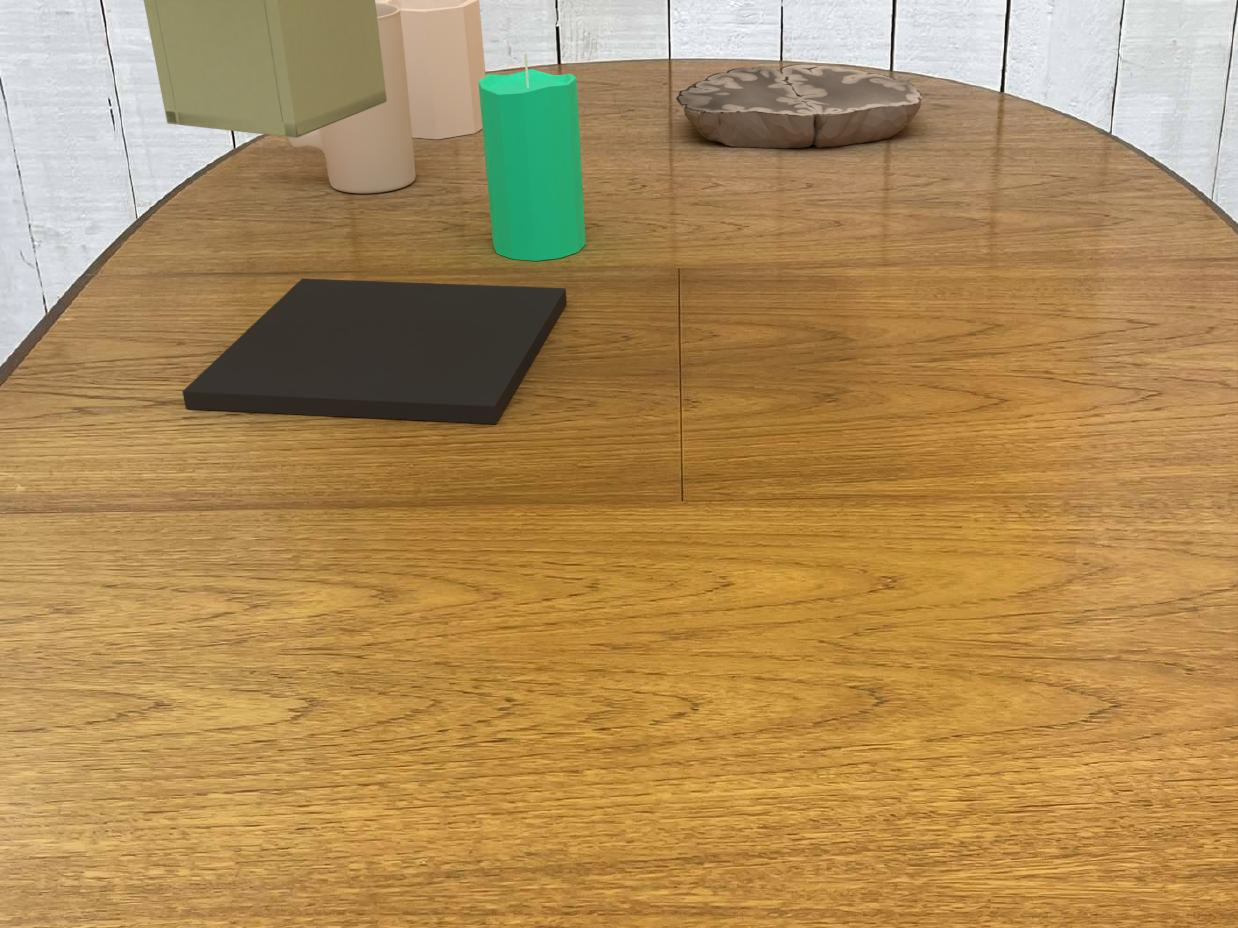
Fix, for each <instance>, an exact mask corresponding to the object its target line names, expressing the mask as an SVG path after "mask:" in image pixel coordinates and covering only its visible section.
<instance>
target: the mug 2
mask: <svg viewBox="0 0 1238 928" xmlns="http://www.w3.org/2000/svg"><path fill="white" fill-rule="evenodd" d="M375 2H376V3H387V4H392V5H396V6H398V7H400V8H401V11H400V17H401V25H402V34H403V44H404V54H405V65H406V76H407V87H408V98H409V108H410V119H411V129H412V139H426V140H443V139H450V138H454V137H455V138H456V137H461V136H468V135H474V134H476V133H478V132H479V131H481V130H483V129H482V118H481V107H480V96H479V84H478V82H479V81H480V80H481V79H482V78H484V77H485V76H486V75H487V74H486V63H485V53H484V42H483V41H484V40H483V32H482V31H483V29H482V19H481V18H482V17H481V7H480V0H377V1H375Z"/></svg>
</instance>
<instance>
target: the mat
mask: <svg viewBox="0 0 1238 928" xmlns="http://www.w3.org/2000/svg"><path fill="white" fill-rule="evenodd" d="M566 306H567V291H566V288H564V287H544V286H543V287H542V286H541V287H540V286H519V285H518V286H516V285H515V286H513V285H487V284H459V283H433V282H411V281H410V282H409V281H408V282H405V281H382V280H381V281H379V280H378V281H377V280H357V279H355V280H354V279H351V280H350V279H327V278H325V279H324V278H301V279H300V280H299V281H297V283H295V284H294V285H293V287H291V288H290V289H289V290H288V291H287V292H286V293H285V294H284V295H283V296H281V298H280V299H279V300H278V301H277V302H276V303H275V304H273V305H272V306H271V307H270V308H269V309H268V310H267V311H266V312H265V313H264V314H262V315H261V316H260V318H258V319H257V320H256V321H255V322H254V323H253V324H252V325H251V326H250V327H249V328H248V329H246V331H244V332H243V334H242V335H240V336H239V337H238V338H237V339H236V340H235V341H234V342H233V343H232V344H231V345H230V346H229V347H228V348H227V349H226V350H224V351H223V352H222V353H221V354H220V355H219V356H217V358H216V359H215V360H214V361H212V363H211V364H210V365H208V367H206V368H205V369H204V370H203V371H202V372H201V373H200V374H199V375H198V376H197V377H196V378H195V379H194V380H193V381H191V383H189V385H187V386H186V387H185V388H184V389H183V390H182V396H183V401H184V405H185V409H186V410H199V411H221V412H240V413H241V412H243V413H261V414H280V415H281V414H282V415H302V416H322V417H341V418H342V417H346V418H362V419H363V418H364V419H382V420H383V419H384V420H402V421H403V420H405V421H406V420H407V421H424V422H426V421H427V422H443V423H445V422H447V423H464V424H466V423H467V424H483V425H488V424H489V425H497V424H498V423H499V420H500V419H501V417H502V415H503V414H504V412H505V410H506V409H507V407H508V405H509V403H510V402H511V400H512V398H513V397H514V395H515V393H516V392H517V389H518V388H519V386H520V384H521V383H522V381H523V380H524V377H525V376H526V374H527V373H528V371H529V369H530V368H531V366H532V364H533V363H534V360H535V359H536V357H537V356H538V354H539V352H540V350H541V349H542V347H543V346H544V343H545V342H546V340H547V338H548V336H549V335H550V333H551V331H552V330H553V328H554V327H555V325H556V323H557V321H558V320H559V317H560V316H561V315H562V313H563V311H564V309H565V307H566Z"/></svg>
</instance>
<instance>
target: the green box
mask: <svg viewBox="0 0 1238 928" xmlns="http://www.w3.org/2000/svg"><path fill="white" fill-rule="evenodd" d="M375 2H376V0H143V4H144V9H145V15H146V19H147V25H148V30H149V36H150V41H151V45H152V52H153V56H154V61H155V66H156V72H157V77H158V82H159V87H160V93H161V98H162V104H163V108H164V114H165V120H166V123H167V124H168V125H175V126H176V125H177V126H186V127H194V128H195V127H196V128H204V129H214V130H222V131H231V132H240V133H249V134H258V135H267V136H276V137H285V138H286V137H295V138H297V137H300V136H302V135H305V134H307V133H310V132H312V131H315V130H317V129H320V128H322V127H325V126H327V125H330V124H332V123H335V122H337V121H340V120H342V119H345V118H347V117H350V116H352V115H355V114H357V113H360V112H362V111H365V110H367V109H370V108H372V107H375V106H377V105H380V104H382V103H385V102H386V101H387V99H386V90H385V82H384V73H383V64H382V56H381V47H380V38H379V30H378V21H377V12H376V4H375Z"/></svg>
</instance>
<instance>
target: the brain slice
mask: <svg viewBox="0 0 1238 928" xmlns="http://www.w3.org/2000/svg"><path fill="white" fill-rule="evenodd" d="M922 99H923V95H922V93H921V92H920V91H919V90H918V88H917V87H916V86H915V85H914V84H913V83H912V82H910V81H909V80H908V79H904V78H894V77H891V76H888V75H884V74H882V73H874V72H867V71H866V70H861V69H856V68H855V69H854V68H846V67H841V66H834V65H817V64H803V63H801V64H790V65H785V66H782V67H781V68H779V69H777V68H772V67H765V66H756V67H739V68H738V67H737V68H733V69H729V70H727V71H725V72H716V73H712V74H709V75H708V76H705V77H704V80H703V79H702V80H699V81H695V82H694V83H692V84H691V85H690V86H688V87H686V88H685V89H681V90H680V91H678V95H677V96H676V97H675V100H676V101H677V102H678V104H679V105H680V106H681V107H683V113H684V115H685V117H686V119H687V120H688V121H690V122H691V123H692V124H693V125H694V126H695V127H696V130H697V132H698V133H699V134H700V135H701V136H702V137H703V138H704V139H706V140H707V141H709V142H715V143H719V144H723V145H725V146H727V147H735V148H738V147H739V148H767V149H801V148H809V147H811V146H815V148H820V149H821V148H836V147H838V148H839V147H842V146H847V145H854V144H856V145H857V144H865V143H869V142H878V141H883V140H888V139H891V137H894V136H895V135H896V134H897V133H899V132H900V131H902V130H904V128H905V127H906V125H908V124H910V123H911V121H912V120H913V119H914V118H915V117H916V115H917V114H918V112H919V110H920V109H921V105H922Z"/></svg>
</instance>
